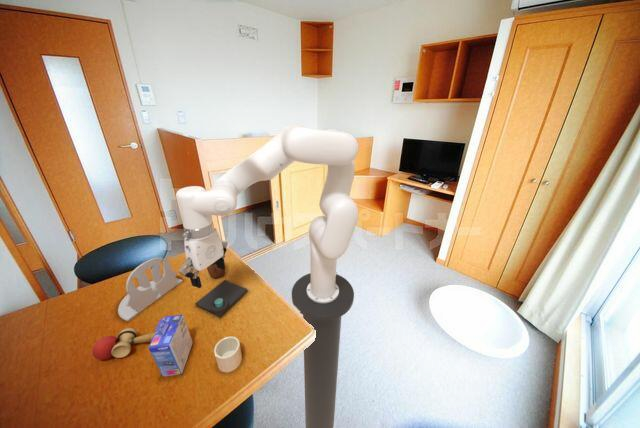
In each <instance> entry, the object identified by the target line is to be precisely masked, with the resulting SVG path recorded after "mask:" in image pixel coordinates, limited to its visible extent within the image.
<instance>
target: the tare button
mask: <svg viewBox="0 0 640 428" xmlns="http://www.w3.org/2000/svg"><path fill="white" fill-rule="evenodd" d="M214 303H215V307H216V308H220V307H222V306H223V305H224V303H223V299H222V298H218V299H216V300H215V302H214Z"/></svg>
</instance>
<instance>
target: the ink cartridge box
mask: <svg viewBox="0 0 640 428" xmlns="http://www.w3.org/2000/svg"><path fill="white" fill-rule="evenodd" d="M154 330H155V332H156V334H155V336H154V338H153V339H152V341H150V342H149V343H150V344H149V345H148V350H149V352H150V354H151V356H152V358H153V360H154V362H155V364H156V366H157V368H158V370H159V372H160V374H161V376H162V377H171V376H178V375H182V374H183V372H184V370H185V367H186V364H187V360H188V358H189V355H190V352H191V349H192V346H193V343H194V341H193V339H192V336H191V333H190V330H189V328H188V325H187V322H186V319H185V316H184V314H175V315H167V316H163V318H160V320H159V321H158V323H157V325H156V327H155V328H154Z"/></svg>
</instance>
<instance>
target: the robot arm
mask: <svg viewBox="0 0 640 428" xmlns="http://www.w3.org/2000/svg"><path fill="white" fill-rule="evenodd" d="M359 149H360V148H359V144H358V140H357V139H356V138H355V136H354V135H353V134H350V133H348V132H346V131H342V130H339V129H335V128H327V129H325V130H322V129H315V128H309V127H305V126H303V125H300V124H290V125H288V126H286V127H285V128H283V129H282V130H280V131H279V132H278V133H277V134H275V135H274V136H273V137H272V138H271V139H270V140H268V141H267V142H265V143H264V145H262V146H261V147H260V148H258V149H257V150H255V152H253V153H252V154H250V155H249V156H247V157H246V158H244V159H243V160H242V161H240V162H238V163H236V164H235V165H234V166H233V167H231V168H230V169H229V170H228V171H226V172H225V173H224V174H222V176H220V177H219V178H218V179H216V181H215V182H213V184H212V185H211V188H210V189H209V190H207V189H206V188H205V187H203V186H199V185H191V186H185V187H182V188H179V189H178V190H177V191H176V194H175V200H176V203H177V207H178V212H179V215H180V219H181V222H182V226H183V227H182V228H183V231H184V232H183V233H181V237H182V238H183V240H184V241H183V243H184V244H183V245H184V254H185V261H184V263H183V264H182V265H181V266H180V268H179V269H178V272H177V273H179V274H180V275H182V276H184V277H185V278H188V279H189V280H190V283H191V286H192V287H195V288H197V289H201V288H202V286H203V285H202V282H201V277H200V276H199V274H200V272H202V271H205V270H207V267H208V266H210V265H211V264H213V263H214V262H215V261H216V265H217V268H220V269H225V270H226V262H225V258H226V253H227V246H228V241H225V240H222V239H221V236H220V233H219V231H218V230H217V228H216V227H214V221H213V217H212V216H217V217H218V216H219V217H220V216H221V217H222V216H223V217H224V216H228V215H231V214H233V213H234V212H235V211H236V209H237V207H238V196H239V195H240V194H242V192H244V191H245V190H247V189H248V188H249V187H250V186H252V185H253V184H256V183H258V182H263V181H264V182H265V181H271V180H272V179H273V180H274V178H276V177H277V176H278V175H280V173H282V172H283V171H284V170H286V168H288V167H290V165H291V164H293V163H294V162H298V163H303V164H312V165H324V166H327V173H326V177H325V181H324V184H323V188H322V191H321V195H320V199H319V205H318V207H319V209H320V211H321V212H322V214H323V215H320V216H317V217H315V218H314V219H312V221H310V224H309V227H308V239H309V247H310V273H311V283H310V284H309V285H308V286H307V295H308V297H309V298H310V299H311V300H312V301H314V302H317V303H330V302H332V301H334V300H335V299H336V298H337V297H338V295H339V288H338V286H337V284H336V283H335V281H336V275H337V274H338V273H337V260H338V259H340V258H341V257H343V255H344V254H345V253H346V252H347V250H348V248H349V246H350V243H351V240H352V238H353V236H354V235H353V234H354V232H355V229H356V226H357V224H358V219H359V208H358V205H357V203H356V202H355V201H354V199H353V198H351V197H350V194H351V190H352V186H353V182H354V178H355V173H356V167H355V166H356V163H355V160H356V158H357V156H358V154H359Z"/></svg>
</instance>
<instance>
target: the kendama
mask: <svg viewBox="0 0 640 428" xmlns="http://www.w3.org/2000/svg"><path fill="white" fill-rule="evenodd" d="M156 332H157V331H154V332H150V333H146V334H142V335H138V334H139V332H138V330H137V329H135V328H133V327H128V328H127V327H126V328H124V329H122V330H121V331H120V332H119V333H118V335H117V336H116V335H115V336H114V335H107V336H104V337H102V338H100V339H98V340H97V341H96V342H95V343H94V345H93V347H92V350H91V351H92V356H93V358H94V359H96V360H99V361H105V360H108V359H111V358H112V357H114V358H116V359H117V358H118V359H121V358H125V357H127V356H128V355H130V352H131V351H132V345H133V344H142V343H143V344H144V343H151V341H152V339H153V338H154V336H155V334H156Z"/></svg>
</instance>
